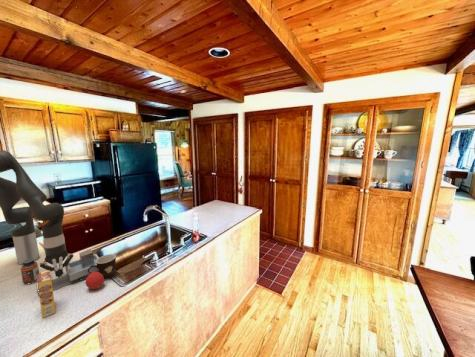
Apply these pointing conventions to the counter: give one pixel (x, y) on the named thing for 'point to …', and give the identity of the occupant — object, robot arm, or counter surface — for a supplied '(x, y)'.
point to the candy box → (46, 293)
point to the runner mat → (63, 282)
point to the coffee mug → (106, 266)
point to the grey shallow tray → (79, 269)
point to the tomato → (94, 280)
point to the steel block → (86, 259)
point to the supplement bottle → (29, 271)
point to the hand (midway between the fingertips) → (59, 276)
